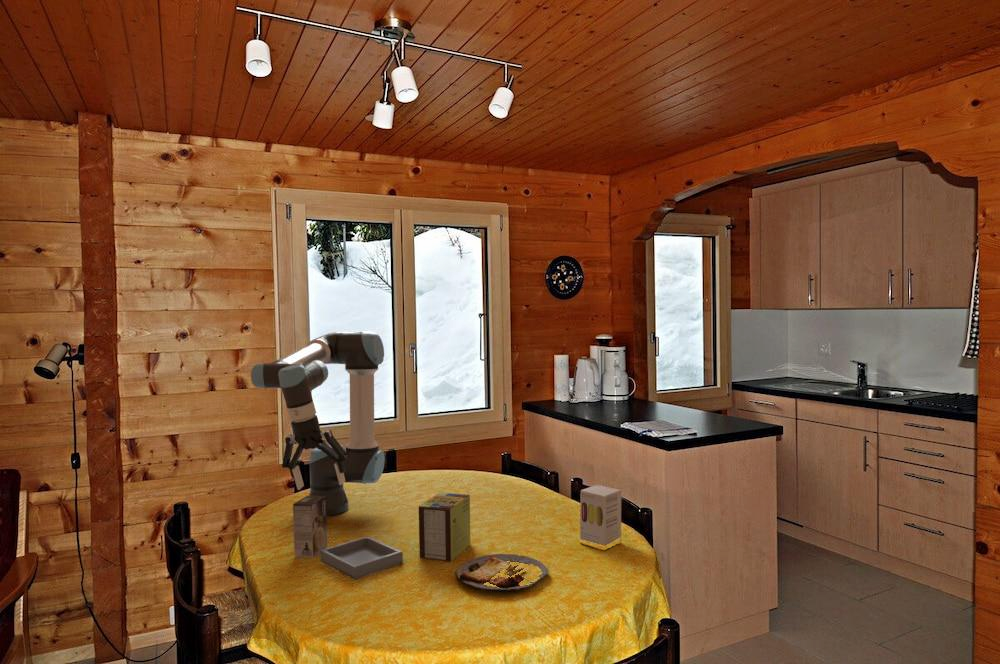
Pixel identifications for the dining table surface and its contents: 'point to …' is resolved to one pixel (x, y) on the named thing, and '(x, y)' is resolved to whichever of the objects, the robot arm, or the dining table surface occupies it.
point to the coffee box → (310, 526)
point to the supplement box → (600, 514)
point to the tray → (361, 557)
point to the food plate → (495, 571)
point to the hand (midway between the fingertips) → (321, 485)
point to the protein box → (444, 526)
